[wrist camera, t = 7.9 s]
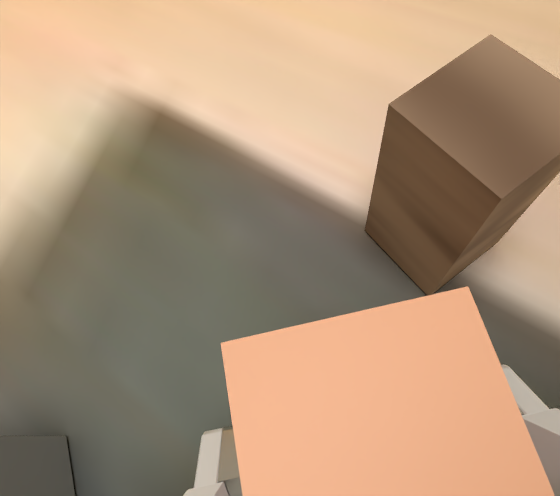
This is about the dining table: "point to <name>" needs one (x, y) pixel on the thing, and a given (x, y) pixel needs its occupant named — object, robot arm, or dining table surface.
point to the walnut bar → (463, 160)
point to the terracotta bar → (380, 407)
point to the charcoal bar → (35, 466)
